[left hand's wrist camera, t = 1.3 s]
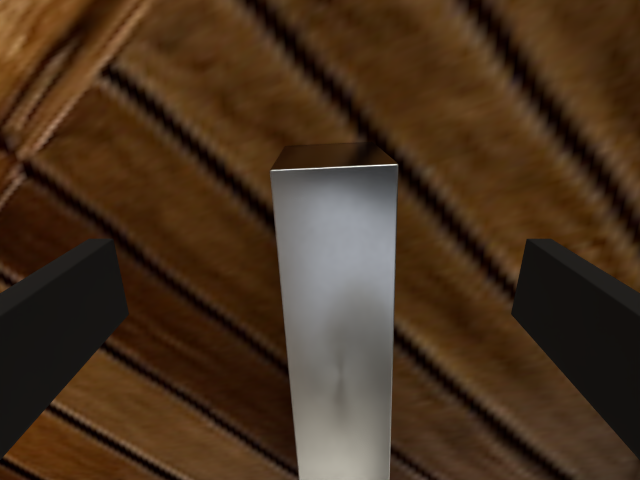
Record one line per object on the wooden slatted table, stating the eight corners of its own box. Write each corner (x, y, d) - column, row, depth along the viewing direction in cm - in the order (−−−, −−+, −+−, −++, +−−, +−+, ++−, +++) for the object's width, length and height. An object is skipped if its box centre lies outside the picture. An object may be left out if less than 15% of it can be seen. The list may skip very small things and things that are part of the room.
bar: (284, 145, 24) (269, 169, 16) (372, 141, 24) (398, 163, 16) (305, 416, 32) (302, 516, 24) (371, 413, 32) (388, 513, 24)
